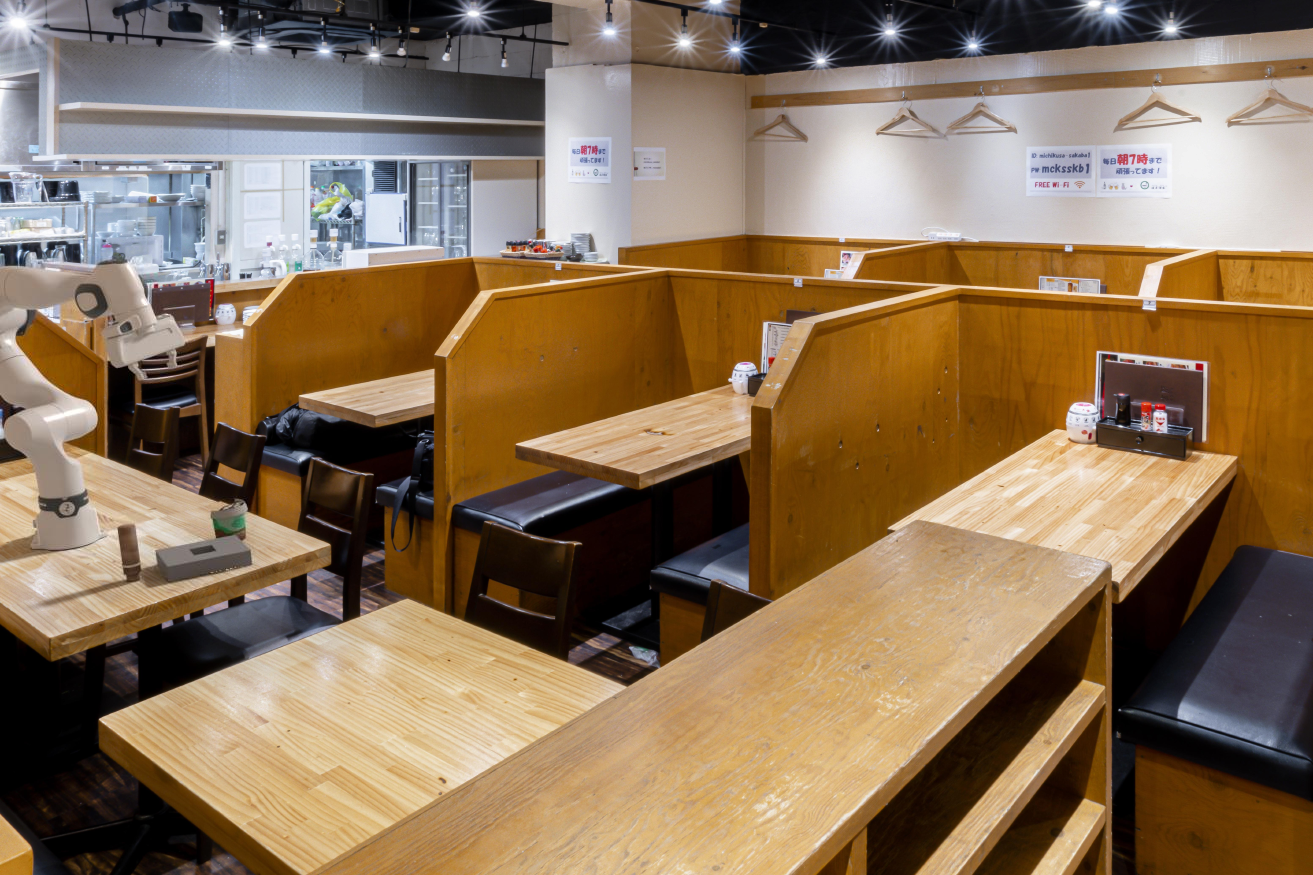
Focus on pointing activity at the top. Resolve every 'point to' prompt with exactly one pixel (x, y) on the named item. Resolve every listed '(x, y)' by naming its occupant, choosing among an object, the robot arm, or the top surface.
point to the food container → (230, 520)
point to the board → (203, 557)
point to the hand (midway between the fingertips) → (158, 373)
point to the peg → (129, 552)
